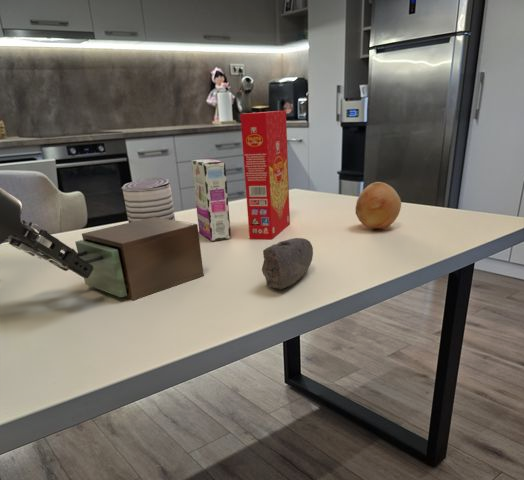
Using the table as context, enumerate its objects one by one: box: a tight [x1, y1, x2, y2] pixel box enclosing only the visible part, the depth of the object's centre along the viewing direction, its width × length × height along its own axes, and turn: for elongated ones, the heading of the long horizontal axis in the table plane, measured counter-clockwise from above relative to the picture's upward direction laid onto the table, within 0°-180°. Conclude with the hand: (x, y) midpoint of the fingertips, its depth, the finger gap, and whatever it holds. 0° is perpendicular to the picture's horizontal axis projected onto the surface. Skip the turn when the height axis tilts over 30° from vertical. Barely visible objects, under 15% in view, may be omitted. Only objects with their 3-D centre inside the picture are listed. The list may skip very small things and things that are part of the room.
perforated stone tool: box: [261, 237, 314, 290], centre depth 78 cm, size 15×5×7 cm, turn 149°
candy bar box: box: [190, 158, 232, 242], centre depth 108 cm, size 11×5×16 cm, turn 22°
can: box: [121, 177, 176, 223], centre depth 116 cm, size 11×11×12 cm
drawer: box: [51, 239, 128, 298], centre depth 79 cm, size 19×11×7 cm, turn 136°
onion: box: [355, 181, 402, 229], centre depth 106 cm, size 10×10×10 cm
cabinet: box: [81, 217, 205, 301], centre depth 82 cm, size 15×13×9 cm
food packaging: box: [239, 110, 291, 240], centre depth 107 cm, size 15×5×25 cm, turn 162°
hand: (78, 268), depth 74 cm, fingers closed on drawer, 6 cm apart
